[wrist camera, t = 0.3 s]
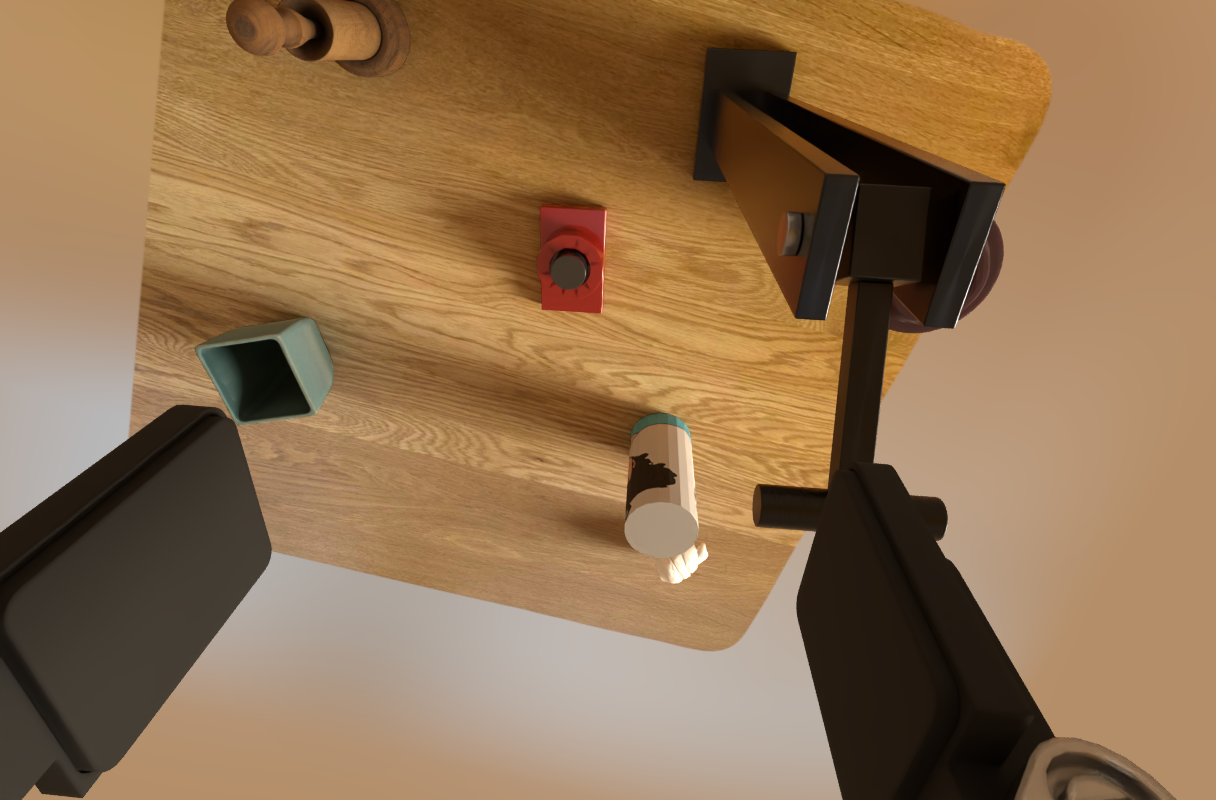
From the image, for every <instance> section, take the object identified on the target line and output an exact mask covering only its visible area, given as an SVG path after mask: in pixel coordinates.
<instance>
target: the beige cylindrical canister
mask: <svg viewBox="0 0 1216 800" xmlns="http://www.w3.org/2000/svg"><path fill="white" fill-rule="evenodd" d="M698 530H699V528H698V517H697V505H696V493H695V482H694V470H693V459H692V447H691V436H690V433H689V429H688V428H687V426H686V425H685V423H684V422H683V421H681V420H680V419H679V418H677V417H675V416H672V415H670V414H663V413H656V414H651V415H648V416H646V417H644V418H642V419H640V420H639V421H638V422H637V423H636V424H635V425H634V427H633V429H632V432H631V439H630V455H629V470H628V485H627V500H626V515H625V531H624V533H625V536H626V538H627V541H628V542H629V543H630V545H631V546H632V547H633V548H634V549H635V550H637V551H639V552H640V553H642V554H644V555H647V556H651V557H656V558H668V557H674V556H677V555H679V554H682V553H684V552H686V551H687V550H688V549H689V548H691V547H692V546H693V544H694V543H695V541H696V539H697V537H698Z"/></svg>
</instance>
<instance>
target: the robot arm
mask: <svg viewBox="0 0 1216 800" xmlns="http://www.w3.org/2000/svg"><path fill="white" fill-rule="evenodd" d="M271 550H272V548H271V543H270V539H269V536H268V533H267V529H266V526H265V522H264V519H263V516H262V512H261V509H260V505H259V502H258V498H257V495H256V492H255V488H254V485H253V481H252V478H251V475H250V471H249V468H248V464H247V461H246V458H245V454H244V451H243V447H242V444H241V441H240V437H239V434H238V430H237V427H236V425H235V423H234V421H233V420H232V419H230V418H227V416H226V414H225V413H224V412H223V411H222V410H221V409H218V408H216V407H204V406H192V405H176V406H174V407H172V408H170V409H169V410H167V411H166V412H164V413H163V414H162V415H160V416H159V417H158V418H156V419H155V420H154V421H152V422H151V423H149V424H148V425H147V426H145V427H144V428H143V429H141V430H140V431H139V432H137V433H136V434H134V435H133V436H132V437H130V438H129V439H128V440H126V441H125V442H123V443H122V444H121V445H119V446H118V447H117V448H115V449H114V450H113V451H111V452H110V453H109V454H107V455H106V456H104V457H103V458H102V459H100V460H99V461H98V462H96V463H95V464H93V465H92V466H91V467H89V468H88V469H87V470H85V471H84V472H83V473H81V474H80V475H78V476H77V477H76V478H74V479H73V480H72V481H70V482H69V483H67V484H66V485H65V486H63V487H62V488H61V489H59V490H58V491H57V492H55V493H54V494H53V495H51V496H50V497H48V498H47V499H46V500H44V501H43V502H42V503H40V504H39V505H38V506H36V507H35V508H33V509H32V510H31V511H29V512H28V513H26V514H25V515H24V516H22V517H21V518H20V519H19V520H17V521H16V522H14V523H13V524H11V525H10V526H9V527H7V528H6V529H5V530H3V531H2V532H0V800H22V798H24V796H25V795H26V794H27V793H28V791H29V790H30V789H31V788H32V787H33V786H34V785H36V786H37V788H38V789H39V791H40V792H41V793H42V794H49V795H58V796H68V797H77V798H83V797H84V796H85V794H86V793H87V792H88V791H89V789H90V788H91V787H92V785H93V784H94V783H95V781H96V780H97V779H98V777H99V776H100V775H101V774H102V772H106V771H108V770H110V769H111V768H113V767H114V766H115V765H117V764H118V762H119V761H120V760H121V759H122V758H123V757H124V755H125V754H126V753H127V751H128V750H129V749H130V747H131V746H132V745H133V744H134V742H135V741H136V739H137V738H138V737H139V736H140V734H141V733H142V732H143V730H144V729H145V728H146V726H147V725H148V723H149V722H150V721H151V720H152V718H153V717H154V716H155V714H156V713H157V712H158V710H159V709H160V708H161V706H162V705H163V704H164V702H165V701H166V700H167V699H168V697H169V696H170V695H171V693H172V692H173V691H174V689H175V688H176V687H177V685H178V684H179V683H180V681H181V680H182V679H183V677H184V676H185V675H186V673H187V672H188V671H189V670H190V668H191V667H192V666H193V664H194V663H195V662H196V660H197V659H198V658H199V656H200V655H201V654H202V652H203V651H204V650H205V648H206V647H207V646H208V644H209V643H210V642H211V640H212V639H213V638H214V636H215V635H216V634H217V633H218V631H219V630H220V629H221V627H222V626H223V625H224V623H225V622H226V621H227V619H228V618H229V617H230V615H231V614H232V613H233V611H234V610H235V609H236V607H237V606H238V605H239V603H240V602H241V601H242V600H243V598H244V597H245V596H246V594H247V593H248V591H249V590H250V589H251V587H252V586H253V585H254V584H255V582H256V581H257V579H258V578H259V577H260V576H261V574H262V573H263V572H264V570H265V569H266V567H267V566H268V563H269V561H270V558H271ZM796 609H797V617H798V622H799V626H800V630H801V634H802V638H803V641H804V646H805V650H806V654H807V658H808V662H809V666H810V670H811V674H812V678H813V682H814V686H815V690H816V694H817V698H818V702H819V706H820V710H821V714H822V718H823V722H824V726H825V730H826V734H827V738H828V742H829V747H830V751H831V755H832V759H833V762H834V766H835V771H836V774H837V779H838V783H839V787H840V791H841V795H842V798H843V800H1176V799H1175V798H1174V797H1173V796H1172V795H1171V794H1170V793H1169V792H1168V791H1167V790H1166V789H1165V788H1164V787H1163V786H1162V785H1161V784H1160V783H1159V782H1158V781H1156V780H1155V779H1154V778H1153V777H1152V776H1151V775H1150V774H1148V773H1147V772H1145V771H1144V770H1142V769H1141V768H1140V767H1138V766H1136V765H1135V764H1134V763H1133V762H1131V761H1129V760H1128V759H1127V758H1125V757H1123V756H1121V755H1119V754H1117V753H1115V752H1113V751H1111V750H1109V749H1107V748H1105V747H1103V746H1101V745H1099V744H1095V743H1092V742H1088V741H1085V740H1081V739H1078V738H1057V737H1055V736H1054V734H1053V732H1052V731H1051V729H1050V727H1049V725H1048V724H1047V722H1046V720H1045V719H1044V717H1043V715H1042V713H1041V712H1040V710H1039V708H1038V706H1037V705H1036V703H1035V701H1034V700H1033V698H1032V696H1031V695H1030V693H1029V691H1028V689H1027V688H1026V686H1025V685H1024V682H1023V681H1022V679H1021V677H1020V676H1019V674H1018V672H1017V670H1016V669H1015V667H1014V665H1013V664H1012V662H1011V660H1010V658H1009V657H1008V655H1007V653H1006V652H1005V650H1004V648H1003V646H1002V645H1001V643H1000V641H999V639H998V638H997V636H996V635H995V633H994V631H993V629H992V627H991V626H990V624H989V622H988V621H987V619H986V617H985V615H984V614H983V612H982V610H981V609H980V607H979V605H978V604H977V602H976V600H975V599H974V597H973V595H972V593H971V591H970V590H969V588H968V586H967V585H966V583H965V581H964V579H963V578H962V576H961V574H960V572H959V571H958V570H957V568H956V567H955V566H954V564H953V563H952V562H951V561H950V560H948V559H947V558H945V556H944V554H943V553H942V551H941V549H940V547H939V546H938V544H937V542H936V540H935V539H934V537H933V535H932V533H931V532H930V530H929V528H928V526H927V525H926V523H925V521H924V519H923V518H922V516H921V514H920V512H919V511H918V509H917V507H916V505H915V504H914V502H913V500H912V498H911V497H910V495H909V493H908V491H907V490H906V488H905V486H904V484H903V483H902V481H901V479H900V477H899V476H898V474H897V472H896V470H895V469H894V468H893V467H892V466H891V465H888V464H877V463H865V462H850V463H849V464H848V465H847V467H846V469H845V470H836V471H835V473H834V474H833V477H832V480H831V483H830V486H829V490H828V493H827V497H826V500H825V503H824V507H823V510H822V513H821V517H820V520H819V524H818V527H817V530H816V534H815V537H814V540H813V544H812V547H811V551H810V554H809V557H808V561H807V564H806V568H805V571H804V574H803V578H802V581H801V585H800V588H799V591H798V596H797V607H796Z"/></svg>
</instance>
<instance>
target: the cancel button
mask: <svg viewBox="0 0 1216 800" xmlns="http://www.w3.org/2000/svg"><path fill="white" fill-rule="evenodd" d="M587 270H588V266H587V262H586V260H585V258H584V257H583V256H582V255H581V254H580V253H578V252H576V251H573V250H566V251H563V252H561V253H559V254H558V255H557V256H556V258H555V260H554V262H553V264H552V266H551V277H552V279H553V281H554V283H555V284H556V285H557V286H559V287H560V288H562V289H566V290H573V289H576V288H578V287H579V286H581V285H582V283H583V282H584V280H585V277H586V274H587Z"/></svg>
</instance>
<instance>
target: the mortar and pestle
mask: <svg viewBox="0 0 1216 800" xmlns="http://www.w3.org/2000/svg"><path fill="white" fill-rule="evenodd" d="M226 23H227V27H228V30H229V33H230V35H231V36H232V38H233V39H234V41H235V42H236V43H237V44H238V45H239V46H240V47H241V48H242V49H244V50H245V51H247V52H249V53H251V54H254V55H258V56H269V55H273V54H275V53H277V52H278V51H279V50H280V49H281V48H282V47H284V48H286V49H287V50H288V51H289V52H290V53H291V54H292V55H294V56H295V57H297V58H299V59H301V60H304V61H329V60H335V61H336V62H337V63H338V64H339V65H340V66H341V67H343V68H344V69H345V70H347V71H349V72H351V73H353V74H355V75H358V76H362V77H383V76H387V75H390V74H392V73H394V72H395V71H397V70H398V69H399V68H400V67H401V66H402V65H403V63H404V62H405V60H406V58H407V55H408V52H409V47H410V34H409V29H408V25H407V22H406V19H405V17H404V15H403V13H402V11H401V9H400V8H399V6H398V5H397V3H396V2H395V1H394V0H281V2H280V3H279V4H278V6H277V7H275V8H274V7H273V6H272V5H270V4H269V3H268V2H266V1H265V0H234V1H233V2H232V3H231V4H230V6H229V7H228V10H227V14H226Z"/></svg>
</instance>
